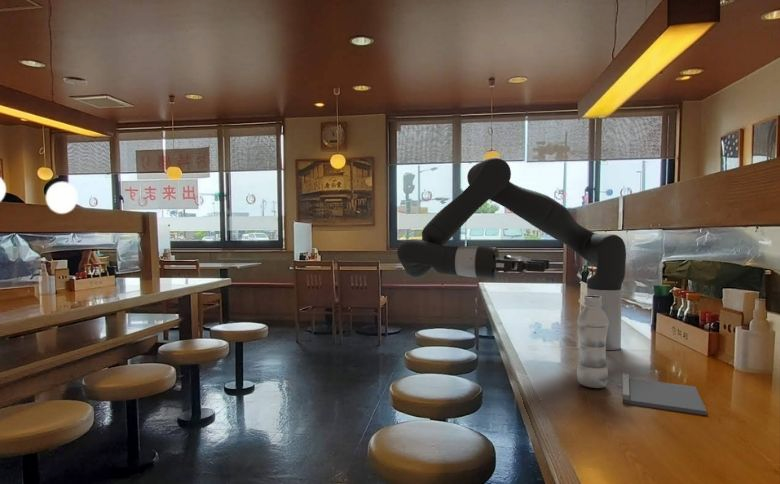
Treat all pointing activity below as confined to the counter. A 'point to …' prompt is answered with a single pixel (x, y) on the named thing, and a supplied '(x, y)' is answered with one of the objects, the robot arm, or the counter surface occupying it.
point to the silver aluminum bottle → (592, 344)
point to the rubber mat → (662, 395)
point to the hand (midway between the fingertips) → (547, 265)
